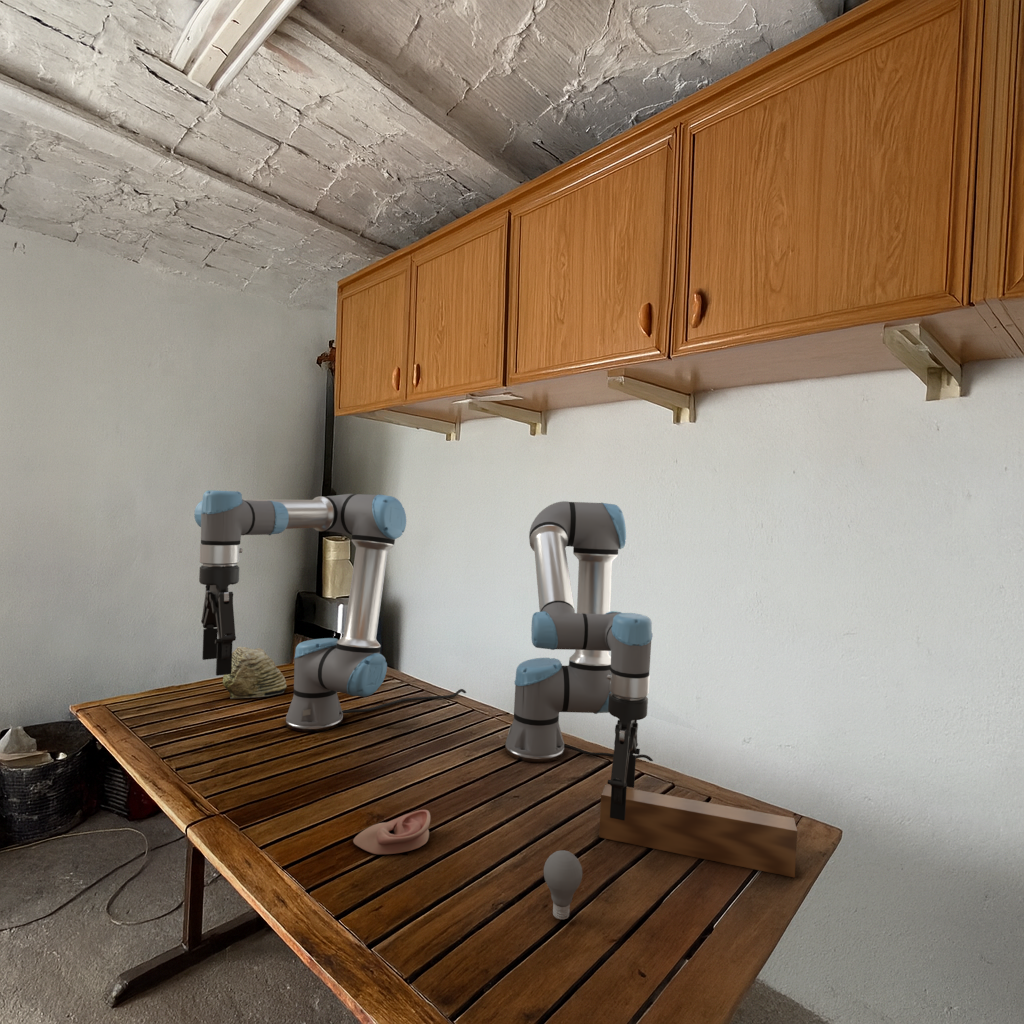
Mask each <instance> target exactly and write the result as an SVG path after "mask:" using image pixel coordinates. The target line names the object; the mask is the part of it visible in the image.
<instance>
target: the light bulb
mask: <svg viewBox="0 0 1024 1024" xmlns="http://www.w3.org/2000/svg"><path fill="white" fill-rule="evenodd" d="M543 877H544V878H543V879H544V881H545V884H546V885H547V887H548V889H549V892H550V896H551V898H550V899H551V900H552V915H553V917H554V918H555V919H558V920H566V919H569V917H570V910H571V909H570V908H571V904H572V901H573V898H574V894H575V893H576V891H577V890H578V889H579V887H580V885H581V883H582V880H583V866H582V864H581V862H580V860H579V859H578V857H577V856H575V854H573V853H572V852H570V851H568V850H564V849H561V850H556V851H555V852H553V853H552V854H550V855H549V856H548V857H547V859H546V861H545V862H544V865H543Z"/></svg>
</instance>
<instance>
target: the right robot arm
mask: <svg viewBox="0 0 1024 1024" xmlns="http://www.w3.org/2000/svg"><path fill="white" fill-rule="evenodd" d="M625 520H626V519H625V515H624V514H623V510H622V509H621V508H620V507H619V505H618V504H614V503H607V502H584V501H583V502H582V501H567V500H565V501H564V500H561V501H558V502H553V503H552V504H549V505H548V506H546V507H545V508H543V509H542V510H541V511H540V512H539V513H538V514H537V515H536V517H535V518H534V519H533V521H532V523H531V526H530V528H529V531H528V540H529V546H530V549H531V550H532V551H533V552H534V561H535V573H536V584H537V596H538V607H539V611H535V612H534V613H533V614H532V616H531V618H532V619H531V630H530V631H531V643H532V645H533V647H535V648H537V649H545V650H551V651H554V650H566V651H567V650H571V651H572V650H573V651H574V653H573V654H571V656H570V657H569V658H568V665H563V663H562V661H561V660H560V659H558V658H555V657H553V658H551V657H536V658H531V659H527V660H524V661H522V662H521V663H519V664H518V666H517V667H516V670H515V677H514V678H515V679H514V704H513V706H514V707H513V719H512V723H511V725H510V726H509V729H508V731H507V732H508V733H507V736H506V738H505V744H504V745H505V748H504V749H505V753H506V754H507V755H509V756H510V757H511V758H513V759H516V760H519V761H524V762H526V763H527V762H528V763H550V762H554V761H557V760H559V759H561V758H562V757H564V755H565V749H568V750H571V751H575V752H578V753H581V754H584V755H588V756H597V757H598V756H601V757H603V756H605V757H610V758H612V763H611V764H612V765H611V774H610V779H607V785H611V786H612V787H611V805H610V818H614V819H619V820H625V810H626V792H627V788H630V789H634V788H635V780H636V763H637V762H636V761H637V759H643V758H644V759H647V760H648V761H649V762H654V759H653V758H652V757H650V755H647V754H641V753H640V752H641V748H638V745H639V743H638V729H639V723H638V721H640V720H643V719H645V718H646V717H647V715H648V709H649V698H648V696H649V693H650V680H651V679H650V678H651V674H650V669H651V652H652V640H653V631H652V630H653V626H652V625H653V623H652V620H651V618H650V617H648V615H644V614H641V613H635V612H621V611H619V610H611V599H612V598H611V597H612V571H613V561H614V560H615V559H616V558H618V556H619V550H622V549H624V548H625V547H626V540H627V527H626V521H625ZM567 547H572V548H573V550H572V551H573V552H572V553H573V555H574V557H575V558H576V559H577V560H578V574H577V599H576V600H577V601H576V611H575V604H574V598H573V597H574V596H573V590H572V583H571V578H570V571H569V564H568V563H569V562H568V557H567V551H566V550H567V549H566V548H567ZM609 652H610V654H609ZM560 713H576V714H577V713H581V714H594V715H597V714H610V716H612V717H614V718H617V721H616V724H615V726H614V733H615V734H614V735H615V737H614V747H613V753H610V752H591V751H586V750H582V749H581V748H579V747H575V746H572V745H569V744H565V741H564V737H563V733H562V729H561V727H560V722H559V718H560Z"/></svg>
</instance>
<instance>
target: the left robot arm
mask: <svg viewBox="0 0 1024 1024" xmlns="http://www.w3.org/2000/svg"><path fill="white" fill-rule="evenodd" d="M193 516H194V520H195V523H196V524H197V526H198V527H200V543H199V563H200V564H202V565H201V566H199V574H198V575H199V576H198V577H199V578H198V582H199V584H201V585H204V586H205V593H204V594H205V595H204V596H205V597H204V602H203V609H202V613H201V614H202V615H201V620H200V622H201V624H202V627H203V631H202V660H203V661H206V660H207V661H208V660H215V661H216V662H215V663H216V665H215V676H217V677H218V676H223V675H227V674H231V668H232V653H233V643H234V642H235V641H236V640H237V636H236V626H235V625H236V624H235V612H234V592H233V591H229V586H231V585H236V584H239V581H240V566H239V565H237V564H239V563H240V554H241V553H243V551H244V550H243V548H240V547H241V537H242V536H259V535H260V536H263V535H264V536H266V535H268V536H272V535H278V534H281V533H283V532H284V531H285V530H289V529H291V530H292V529H313V530H315V531H317V532H333V533H339V534H342V535H343V534H344V535H351V543H352V544H353V546H355V553H354V559H353V560H354V561H353V567H352V575H351V582H350V590H349V595H348V603H347V610H346V616H345V624H344V630H343V635H342V637H341V638H339V639H338V638H335V637H324V638H323V637H322V638H313V639H308V640H304V641H302V642H299V643H298V644H297V645H296V647H295V652H294V653H295V654H294V657H293V658H294V660H293V662H294V663H293V665H294V666H293V695H292V696H293V697H292V699H291V702H290V704H289V708H288V711H287V713H286V715H285V726H286V728H287V729H289V730H291V731H294V732H295V731H296V732H301V733H316V732H325V731H329V730H332V729H335V728H337V727H339V726H340V725H342V723H343V722H344V714H353V713H367V712H372V711H376V710H379V709H382V708H386V707H389V706H392V705H396V704H400V703H404V702H411V701H421V700H422V701H424V700H425V701H427V700H441V699H442V700H443V699H451V698H455V697H457V696H458V695H459V694H460V693H463V694H467V691H466V690H465V689H463V688H460V689H458V690H457V691H455V693H452V694H447V695H431V696H416V697H406V698H400V699H396V700H393V701H389V702H385V703H382V704H379V705H376V706H373V707H369V708H358V709H357V708H355V709H344V710H343V709H342V706H341V702H340V699H339V695H338V693H342V694H346V695H349V696H351V697H361V698H364V697H365V698H367V697H370V696H372V695H373V694H374V693H376V692H377V691H378V689H379V688H380V687H382V684H383V683H384V680H385V678H386V675H387V671H388V663H387V661H386V657H385V656H384V655H383V654H382V653H381V646H382V645H381V644H380V643H379V641H378V640H377V634H378V626H379V619H380V612H381V604H382V597H383V588H384V582H385V577H386V576H385V574H386V567H387V560H388V553H389V551H390V550H391V549H392V548H394V547H395V542H396V540H397V539H399V538H401V537H402V535H403V533H404V532H405V531H406V527H407V514H406V510H405V508H404V506H403V504H402V502H401V501H400V499H398V498H397V497H395V496H392V495H385V494H370V493H369V494H368V493H367V494H364V493H344V494H338V495H327V496H321V495H320V496H319V495H318V496H315V497H313V499H276V498H275V499H274V498H273V499H271V498H265V499H264V498H243V493H242V492H240V491H238V490H237V491H236V490H215V489H213V490H212V489H211V490H210V489H209V490H206V491H205V492H203V495H202V499H201V500H200V501H199V502H198V503H197V504H196V506H195V509H194V515H193Z"/></svg>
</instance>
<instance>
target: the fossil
mask: <svg viewBox="0 0 1024 1024" xmlns="http://www.w3.org/2000/svg"><path fill="white" fill-rule="evenodd" d="M222 676H223V677H222V685H223V687H224V688H225V690H226V691H228V693H229V698H230V699H250V698H264V697H271V696H275V695H281V694H284V693H285V691H286V689H287V687H288V686H287V680H286V678H285V676H284V674H283V673H282V672H281V669H279V668H278V667H277V665H276V663H275V662H274V660H273V659H272V658H271V657H270V656H269V655H268V654H267V653H266V652H265V650H264V649H263V648H260V647H258V648H251V647H247V646H246V647H245V646H238V647H237V648H236V649H235V650H233V651H232V668H231V674H227V675H222Z"/></svg>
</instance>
